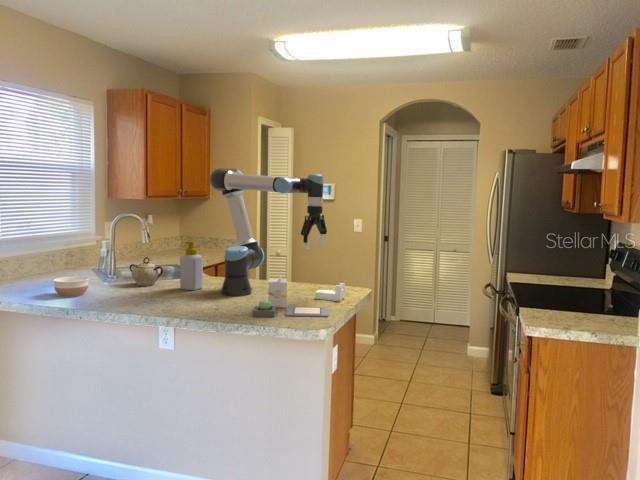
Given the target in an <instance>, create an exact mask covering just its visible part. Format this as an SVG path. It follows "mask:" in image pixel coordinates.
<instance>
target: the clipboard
mask: <svg viewBox="0 0 640 480" xmlns="http://www.w3.org/2000/svg"><path fill="white" fill-rule="evenodd" d="M285 317H302V318H303V317H305V318H306V317H310V318H316V317H317V318H319V317H320V318H329V308H328V306H297V305H296V306H295V305H294V306H291V305H289V306H288V305H287V307H286V311H285Z"/></svg>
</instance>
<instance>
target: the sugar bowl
mask: <svg viewBox="0 0 640 480" xmlns="http://www.w3.org/2000/svg"><path fill="white" fill-rule="evenodd" d="M146 260H148V261H146ZM150 261H151V260H150V258H149V257H148V256H147V257H144V258H143V260H142V263H140V264H134V263H132V264H130V266H129V271H130V272H131V277H132V279H133V280H134V282H136V284H137V286H139V287H141V286H142V287H147V286H148V287H149V286H154V285H155V284H156V282H157V281H158V280H159V278H160V276H161V275H162V274H163V273H164V269H163V266H162V265H161V266H160V265H158V266H157V265H156V264H154V263H150Z"/></svg>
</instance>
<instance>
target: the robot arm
mask: <svg viewBox="0 0 640 480" xmlns="http://www.w3.org/2000/svg"><path fill="white" fill-rule="evenodd" d="M209 184H210V186H211V187H212V188H213V189H214V190H216V191H219V192H221V194H222V197H223V198H224V199H226V202H227V205H228V209H229V212H230V213H229V214H230V217H231V222H232V225H233V229H234V233H235V237H236V241H237V244H236V245H234V246H229V247H227V248H225V250H224V257H223V258H224V280H223V283H222V286H221V291H220V292H221V295H224V296H231V297H239V296H248V295H250V294H252V286H251V283H250V279H249V270H253V269H256V268H258V267H260V266H261V265H262V264H263V263H264V260H265V252H264V250H263V248H262V247H260V246H259V243H258V241H257V239H254V234H253V232H252V227H251V224H250V220H249V216H248V211H247V207H246V204H245V201H244V197H243V195H244V193H245V190H248V191H259V192H269V193H280V194H307V209H306V210H307V212H306V213H307V214H308V215H304V221H303V224H302V227H301V231H300V235H301V236H302V237H303V247H302V249H303V250H310V232H311V231H312V228H313V226H314V225H315V226H316V228H317V230H318V232H319V233H318V248H319V247H320V248H325V247H324V246H325V235H327V232H328V230H327V227H326V226H327V225H326V221H325V215H324V214H323V206H322V205H323V203H324V202H323V200H324V199H323V196H324V195H323V194H324V176H323V174H319V173H318V174H311V173H310V174H308V175H307V177H287V176H273V175H271V176H270V175H262V174H261V175H260V174H259V175H258V174H246V173H243V172H242V171H240V169H239V170H238V169H236V168H221V167H219V168H216V169H214V170H213V171H212V172H211V173H210V176H209Z"/></svg>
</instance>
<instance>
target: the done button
mask: <svg viewBox="0 0 640 480" xmlns="http://www.w3.org/2000/svg"><path fill="white" fill-rule="evenodd" d="M258 306H259V310H270V309H271V302H270V301H268V300H261V301H259V302H258Z"/></svg>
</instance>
